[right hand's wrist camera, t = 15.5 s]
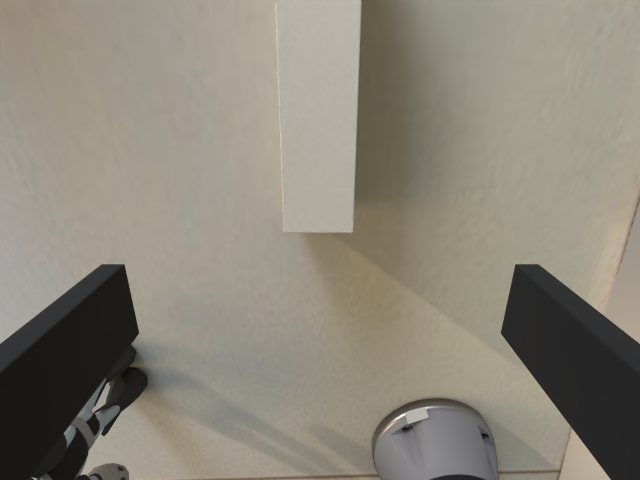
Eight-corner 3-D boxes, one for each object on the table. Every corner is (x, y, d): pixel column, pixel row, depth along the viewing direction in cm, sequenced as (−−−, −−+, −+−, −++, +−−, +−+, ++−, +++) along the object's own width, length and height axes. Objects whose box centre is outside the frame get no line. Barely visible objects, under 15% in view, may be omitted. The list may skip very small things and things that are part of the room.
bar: (346, 205, 37) (353, 233, 30) (290, 205, 37) (283, 233, 30) (356, -126, 28) (369, -204, 20) (281, -126, 28) (267, -204, 20)
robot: (170, 424, 47) (73, 638, 29) (133, 429, 48) (15, 644, 29) (112, 291, 40) (-66, 462, 22) (70, 298, 41) (-141, 472, 22)
